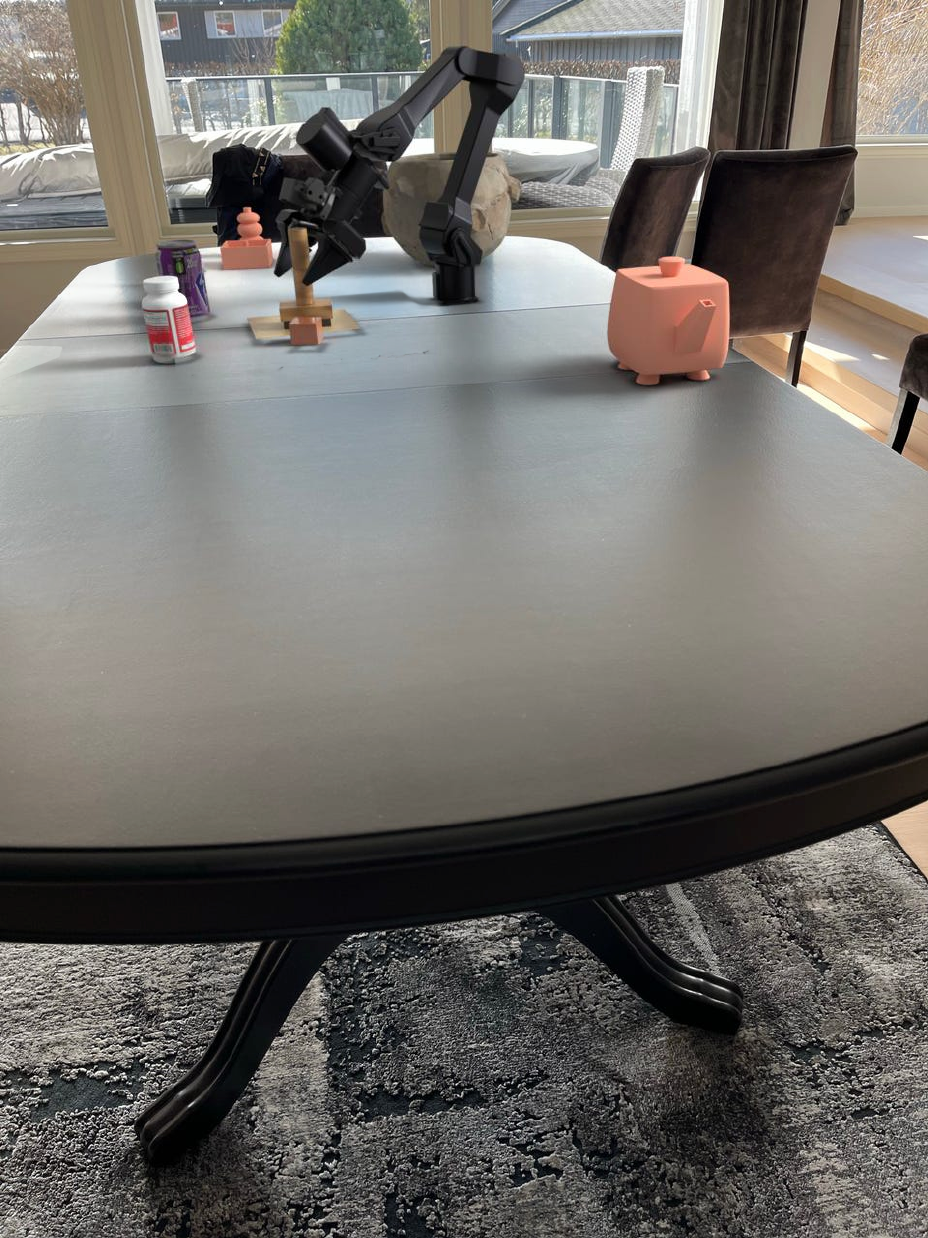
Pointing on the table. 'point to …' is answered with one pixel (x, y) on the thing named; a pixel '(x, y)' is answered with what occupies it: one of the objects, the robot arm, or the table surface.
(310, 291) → the wooden stamp
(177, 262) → the beverage can
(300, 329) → the cube
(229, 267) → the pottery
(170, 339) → the pill bottle
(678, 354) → the teapot
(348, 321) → the board
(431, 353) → the table surface
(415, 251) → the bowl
